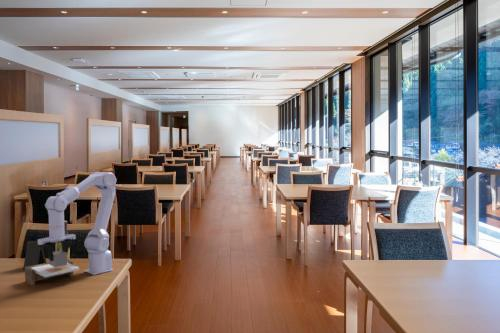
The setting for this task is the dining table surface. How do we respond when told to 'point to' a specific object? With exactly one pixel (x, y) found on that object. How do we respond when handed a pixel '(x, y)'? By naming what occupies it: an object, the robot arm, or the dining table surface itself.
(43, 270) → the trapdoor
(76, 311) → the dining table surface
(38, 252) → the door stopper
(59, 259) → the stone
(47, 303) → the dining table surface
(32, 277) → the trapdoor frame
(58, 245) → the sauce bottle
